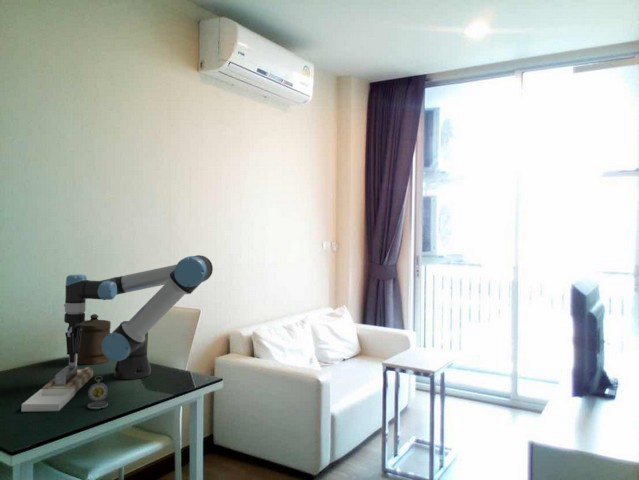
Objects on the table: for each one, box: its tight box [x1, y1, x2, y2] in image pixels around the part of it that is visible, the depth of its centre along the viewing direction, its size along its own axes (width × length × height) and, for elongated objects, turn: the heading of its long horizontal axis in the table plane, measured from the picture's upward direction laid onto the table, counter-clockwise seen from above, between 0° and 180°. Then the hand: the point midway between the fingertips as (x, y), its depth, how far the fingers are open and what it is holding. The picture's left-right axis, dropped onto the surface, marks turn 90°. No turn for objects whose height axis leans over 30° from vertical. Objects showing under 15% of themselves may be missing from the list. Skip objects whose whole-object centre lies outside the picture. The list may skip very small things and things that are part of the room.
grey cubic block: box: [54, 371, 70, 386], centre depth 188 cm, size 4×4×4 cm
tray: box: [20, 388, 76, 413], centre depth 176 cm, size 16×12×2 cm
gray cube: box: [63, 365, 78, 378], centre depth 197 cm, size 4×4×4 cm
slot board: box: [42, 366, 94, 394], centre depth 196 cm, size 24×11×4 cm, turn 9°
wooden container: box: [77, 313, 112, 365], centre depth 233 cm, size 15×15×22 cm
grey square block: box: [59, 368, 74, 382], centre depth 193 cm, size 4×4×4 cm
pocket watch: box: [87, 375, 109, 410], centre depth 176 cm, size 8×8×10 cm
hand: (72, 369), depth 200 cm, fingers closed
